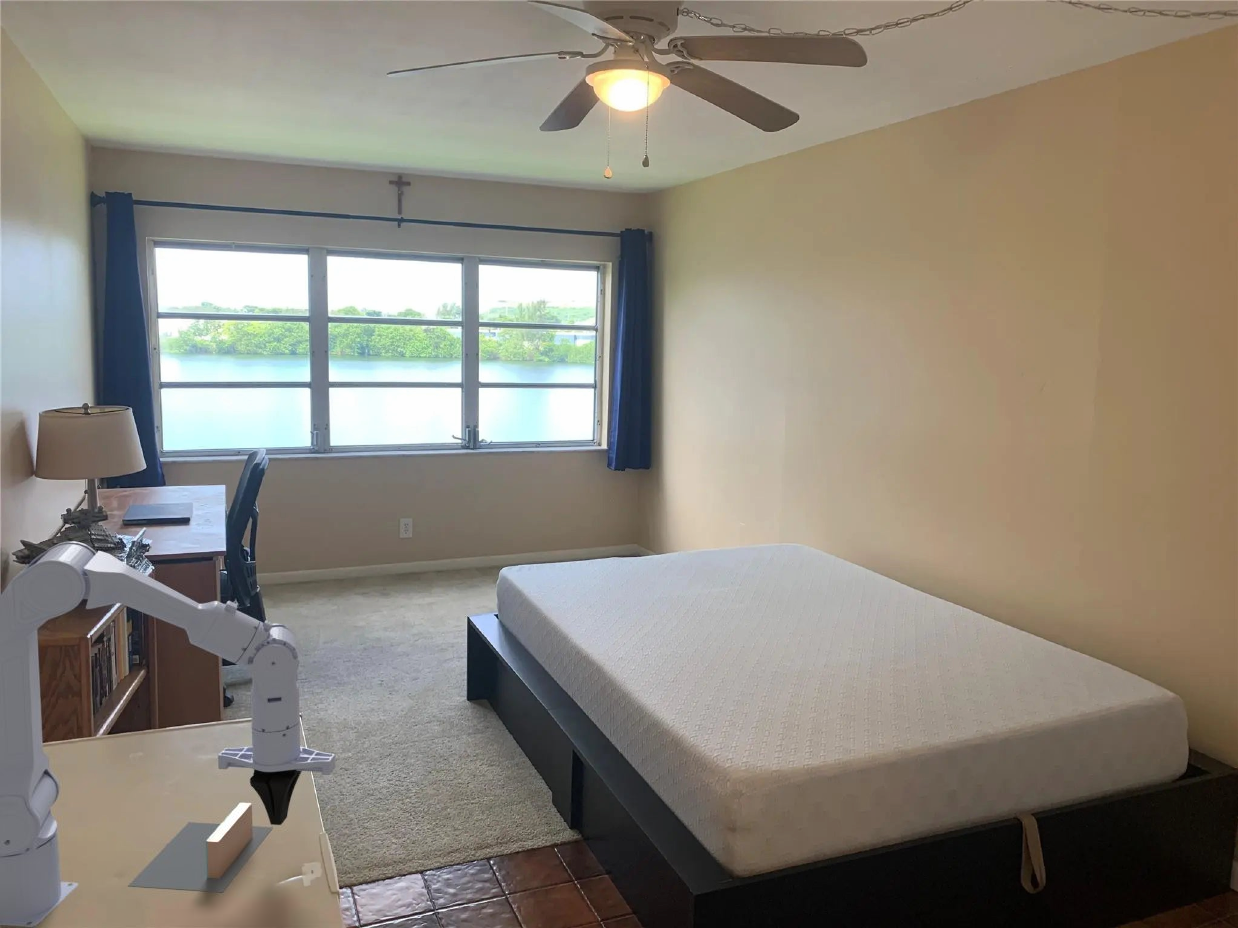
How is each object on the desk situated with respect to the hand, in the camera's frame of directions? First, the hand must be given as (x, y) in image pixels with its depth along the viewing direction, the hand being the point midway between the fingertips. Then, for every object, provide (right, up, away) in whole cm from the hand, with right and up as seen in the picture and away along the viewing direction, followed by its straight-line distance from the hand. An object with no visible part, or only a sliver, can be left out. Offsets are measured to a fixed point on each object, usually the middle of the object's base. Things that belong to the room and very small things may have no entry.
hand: (278, 820), depth 112 cm
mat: (-10, -5, +1) cm, 12 cm away
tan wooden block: (-7, -5, +1) cm, 9 cm away
